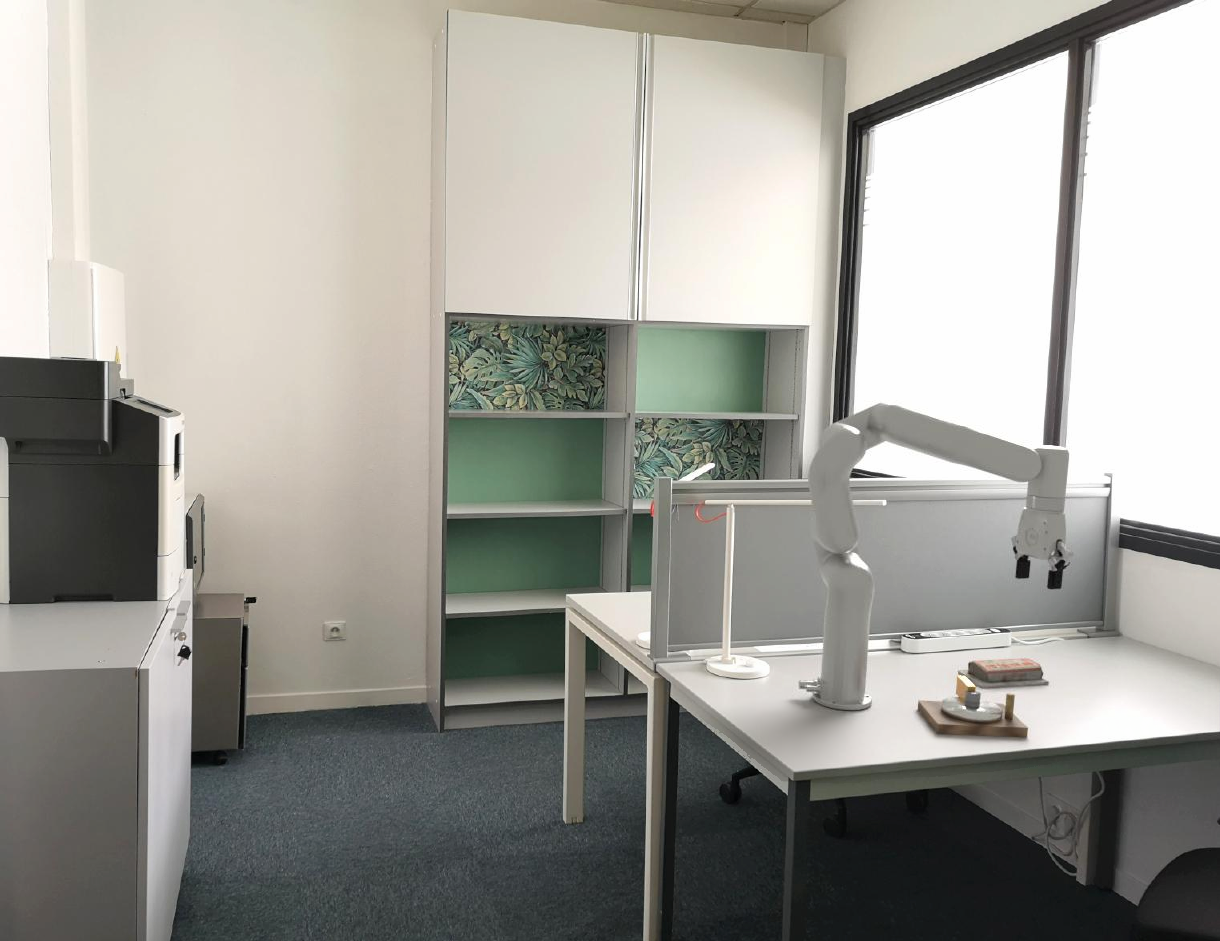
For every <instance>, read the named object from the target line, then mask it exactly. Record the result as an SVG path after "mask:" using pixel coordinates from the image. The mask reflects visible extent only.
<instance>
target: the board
mask: <svg viewBox="0 0 1220 941" xmlns="http://www.w3.org/2000/svg"><path fill="white" fill-rule="evenodd" d="M1005 696H1006V697H1005V704H1003V703H994V702H993V703H994V704H996V705H998V706H999V707H1001V708H1002V710H1003V715H1002V719H1001V720H999V721H996V722H990V723H979V722H970V721H965V720H960V719H957V718H954V717H951V716H949V715H947V714H945V713H944V712H943V711H942V710H941V704H942V701H943V700H920V699H919V700H918V701H917V711H918V712H919V713H920V715H922V716H923V718H924V719H925V721H926V722H927V723H928V724H929V726H930V727H931V728H932V730H934V732H935V733H936V734H937V735H938V734H939V735H961V736H962V735H965V736H985V737H986V736H987V737H990V736H991V737H1012V738H1013V737H1016V738H1028V733H1029V732H1028V731H1029V730H1028V729H1029V727H1027V725H1026V724H1025V723H1024V722H1023V721H1022V720H1020V718H1018V716H1016V715H1015V714H1014V708H1015V696H1016V694H1015V693H1010V692H1009V693H1006V695H1005Z"/></svg>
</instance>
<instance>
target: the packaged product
mask: <svg viewBox="0 0 1220 941" xmlns="http://www.w3.org/2000/svg"><path fill="white" fill-rule="evenodd" d="M1042 668H1043V667H1042V666H1041V664H1040V663H1039V662H1036V661H1034V660H1032V659H1031V658H1030V659H1029V658H1004V659H1000V658H998V659H983V660H982V659H981V660H980V659H979V660H977V659H976V660H971V661H969V662H968V664H967V669H957V674H958V675H957V676H965V677H966V678H967V679H968V680H970V681H971V682H972V683H973V684H974V685H975V686H977V687H979V688H980V689H989V688H990V689H991V688H992V689H993V688H1006V687H1007V688H1010V687H1026V686H1041V685H1042V686H1044V685H1045V686H1046V685H1049V684H1050V682H1049V681H1048V680H1047V679H1045V678H1044V677H1043V676H1044V672H1043V669H1042Z"/></svg>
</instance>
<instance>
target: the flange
mask: <svg viewBox="0 0 1220 941" xmlns="http://www.w3.org/2000/svg"><path fill="white" fill-rule="evenodd" d="M976 686H977V685H975V684H973V683H972V682H971V681H970V680H968V679H967V678H966V677H965V676H959V675H957V677H956V687H955V688H956V689H955V694H956V695H957V696H951V697H947V698H944V699H942V700H941V701H942V704H941V710H942V711H943V712H944V713H945V714H947V715H949V716H951V717H954V718H957V719H960V720H965V721H970V722H979V723H990V722H996V721H999V720H1001V719H1002V715H1003V710H1002V708H1001V707H999V706H998V705H996V704H994V702H991V701H988V700H986V699H981V694H982V693H981V691H977V690H976Z"/></svg>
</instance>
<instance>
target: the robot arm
mask: <svg viewBox="0 0 1220 941" xmlns="http://www.w3.org/2000/svg"><path fill="white" fill-rule="evenodd" d="M885 442H888V443H890V444H893V445H896V446H899V447H903V448H906V449H908V450H912V451H915V452H918V453H921V454H924V455H927V456H930V457H933V458H936V459H940V460H943V461H945V462H949V463H952V464H955V465H956V464H957V465H961V466H966V467H970V468H973V469H976V470H979V471H981V472H982V471H983V472H985V473H989V474H992V475H995V476H998V477H1001V478H1004V479H1006V480H1007V479H1008V480H1010V481H1013V482H1017V483H1027V491H1026V497H1025V499H1026V501H1025V507H1023V509H1022V510H1021V511H1022V512H1021V515H1020V519H1019V523H1018V528H1017V532H1016V535H1014V536H1012V537H1011V542H1012V543H1011V544H1012V551H1013V553H1014V559H1015V560H1016V563H1015V564H1016V567H1015V576H1014V577H1015V579H1016V580H1020V579H1021V580H1022V579H1029V578H1030V573H1031V572H1030V571H1031V559H1030V558H1034V559H1037V560H1042V561H1047V562H1048V563H1047V564H1049V567H1050V569H1049V570H1048V574H1047V585H1046V588H1047V589H1048V590H1061V589H1062V588H1063V587H1062V585H1063V575H1064V572H1065V571H1066V569H1067V568H1068V567H1069V566H1070V564H1071V561H1072V558H1073V557H1074V552H1073V551H1072V550H1071V549H1070V548H1069V547H1068V546H1067V544H1066V538H1067V537H1066V536H1067V528H1066V526H1067V525H1066V523H1067V522H1066V513H1065V503H1066V492H1067V482H1068V473H1069V472H1068V471H1069V463H1070V462H1069V461H1070V452H1069V450H1068V449H1067V448H1065V447H1063V446H1059V445H1058V446H1057V445H1046V444H1045V445H1044V444H1043V445H1027V444H1021V443H1017V442H1014V441H1010V440H1007V439H1005V438H1001V437H999V436H995V435H992V434H989V433H987V432H984V431H980V430H978V429H975V428H974V427H972V426H969V425H966V424H964V423H961V422H958V421H957V420H953V419H950V418H947V417H944V416H941V415H937V414H934V413H931V412H928V411H926V410H922V409H919V408H917V407H916V408H915V407H913V406H909V405H906V404H903V403H899V402H894V401H889V400H888V401H882V402H879V403H876V404H874V405H871V406H869V407H868V408H865V409H863V410H861V411H858V412H856V413H853V414H851V415H849V416H848V417H847V416H846V417H845V418H842V419H840V420H838V421H836V422H833V423H831V424H830V425H828V426H827V427H826V428H825V429H824V430H823V431H822V432H821V435H820V438H819V449H817V451H816V453H815V454H814V457H813V458H812V460H811V463H810V466H809V469H808V476H807V478H808V479H807V480H808V488H809V489H808V490H809V497H810V501H811V505H812V511H813V512H812V513H813V515H812V516H811V519H810V522H809V523H810V527H809V529H810V535H811V539H812V540H811V541H812V544H813V549H814V552H815V556H816V561H817V564H818V568H819V570H818V571H819V572H820V577H821V579H822V581H823V583H824V585H825V586H826V587H827V597H826V605H825V610H824V620H823V622H824V623H823V641H822V656H821V672H820V675H817V678H816V679H815V678H814V679H813V680H806V679H805V680H804V679H803V680H802V679H799V680H798V689H799V690H805V691H806V692H807V693H812V699H813V700H814V702H815V703H817V704H819V705H821V706H824V707H826V708H831V709H836V710H844V711H857V710H864V709H867V708H869V707H871V706H872V703H873V698H872V696H870V694H868V693H867V692H866V684H867V682H866V681H867V672H868V671H867V668H868V654H869V640H870V638H869V637H870V624H871V613H872V608H873V607H872V605H873V600H874V596H875V580H874V575H873V573H872V571H871V568H870V567H869V566H868V565H867V564H866V563H865V562H864V561H863V560H862V558H861V554H860V550H859V545H858V543H859V541H860V538H861V527H860V523H859V521H858V518H857V517H858V516H857V513H856V509H855V504H854V502H853V501H854V500H853V497H852V490H851V483H850V478H851V474H852V471H853V469H854V467H855V466H856V465H858V464H859V462H861V460H863V458H864V456H865V455H866V453H867V450H868V451H869V449H872V448H874V447H876V446H879V445H880V444H882V443H885Z"/></svg>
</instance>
